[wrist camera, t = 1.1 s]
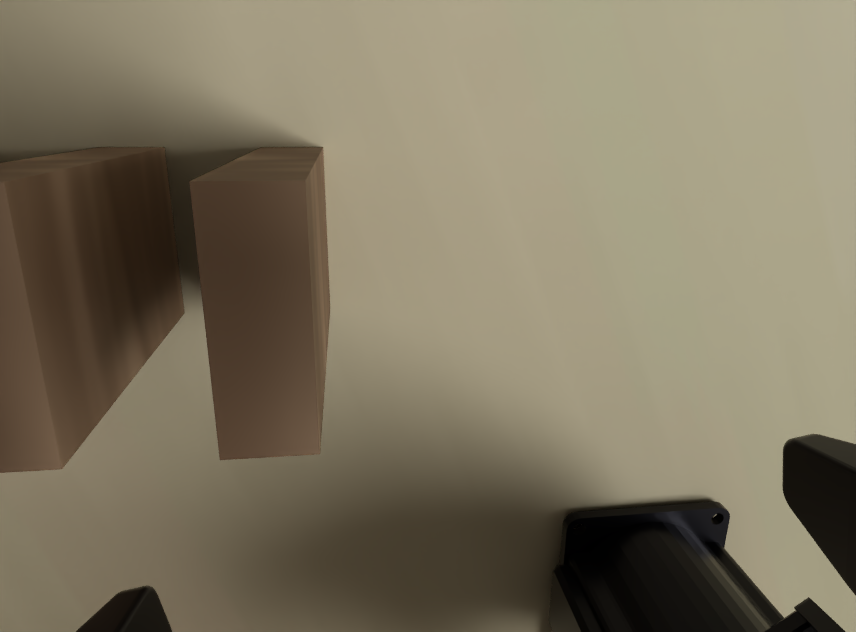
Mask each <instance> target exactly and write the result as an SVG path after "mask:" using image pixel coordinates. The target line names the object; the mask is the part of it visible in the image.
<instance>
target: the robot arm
mask: <svg viewBox="0 0 856 632" xmlns="http://www.w3.org/2000/svg"><path fill="white" fill-rule="evenodd" d="M783 493H784V496H785V499H786V501H787V503H788V505H789V507H790V508H791V509H792V511H793V512H794V513H795V515H796V516H797V518H798V519H799V520H800V522H801V523H802V524H803V526H804V527H805V528H806V530H807V531H808V532H809V534H810V535H811V536H812V538H813V539H814V541H815V542H816V543H817V545H818V546H819V547H820V549H821V550H822V551H823V553H824V554H825V555H826V557H827V558H828V560H829V561H830V562H831V564H832V565H833V566H834V568H835V569H836V570H837V572H838V573H839V574H840V576H841V577H842V578H843V580H844V581H845V583H846V584H847V585H848V586H849V588H850V589H851V590H852V591H853V593H854V594H855V595H856V444H853V443H849V442H845V441H842V440H838V439H834V438H830V437H826V436H822V435H818V434H810V435H805V436H801V437H797V438H792V439H789V440H788V441H787V442H786V443H785V445H784V447H783ZM715 514H717V515H716V516H715V517H714V518H712V517H713V516H714V515H715ZM729 519H730V514H729V512H728V511H727V509H726V508H725V507H724V506H723V505H722V504H720V503H719V502H703V503H689V504H676V505H662V506H649V507H635V508H622V509H608V510H594V511H581V512H574V513H571V514H570V515H568V516H567V517H566V518H565V519H564V522H563V530H562V541H561V552H560V564H559V565H557V566H556V567H555V569H554V570H553V576H552V588H551V600H550V611H549V623H550V625H551V628H552V630H553V632H845V631H844V630H843V629H842V628H841V627H840V626H839V625H838V624H837V623H836V622H835V621H834V620H833V619H832V618H830V617H829V616H828V615H827V614H826V613H825V612H824V611H823V610H822V609H821V608H820V607H819V606H818V605H817V604H816V603H815V602H813V601H812V600H811V599H810V598H807V599H806V600H804V601H803V602H801V603H800V604H798V605H797V606H795V607H794V608H795V609H796V611H794V612H793V613H791V614H790V615H788V616H787V617H785V618H784V617H783V616H782V615H781V614H780V613H779V611H778V610H777V609H776V608H775V607H774V606H773V604H772V603H771V602H770V601H769V600H768V599H767V598H766V596H765V595H764V594H763V593H762V592H761V591H760V589H759V588H758V587H757V586H756V585H755V584H754V582H753V581H752V580H751V579H750V578H749V577H748V576H747V574H746V573H745V572H744V571H743V570H742V569H741V567H740V566H739V565H738V564H737V563H736V562H735V560H734V559H733V558H732V557H731V556H730V555H729V554H728V552H727V551H726V550H725V549H724V545H725V540H726V535H727V529H728V524H729ZM578 524H582V525H581V526H580V527H579V528H576V529H573V528H574V527H575V526H576V525H578ZM76 632H172V630H171V627H170V624H169V622H168V619H167V617H166V614H165V612H164V609H163V607H162V604H161V602H160V599H159V597H158V594H157V593H156V591H155V590H154V588H153V587H150V586H142V587H138V588H133V589H129V590H125V591H121V592H119V593H118V594H116V595H115V596H114V597H113V598H112V599H111V600H110V601H109V602H108V603H106V604H105V605H104V606H103V607H102V608H101V609H100V610H99V611H98V612H97V613H96V614H94V615H93V616H92V617H91V618H90V619H89V620H88V621H87V622H86V623H85V624H84V625H82V626H81V627H80V628H79V629H78V630H77V631H76Z"/></svg>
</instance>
